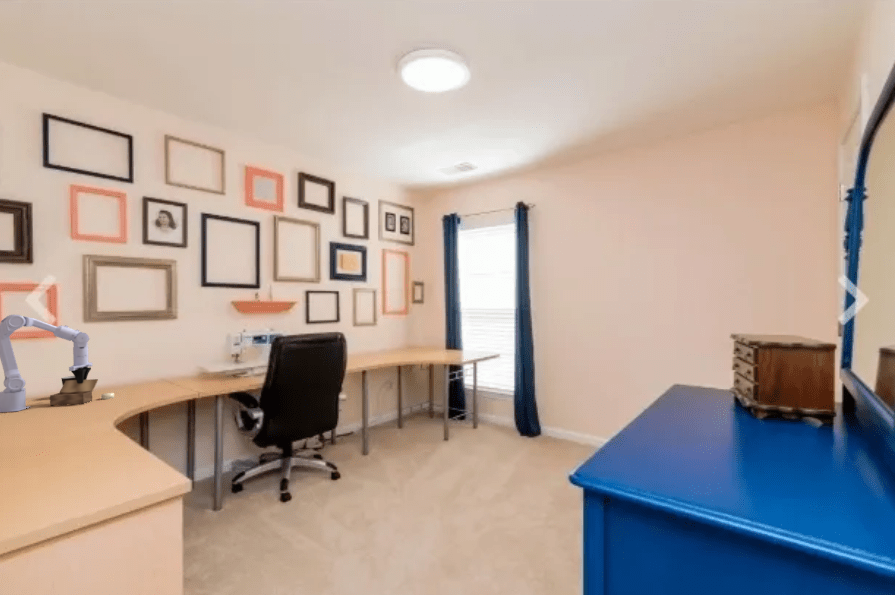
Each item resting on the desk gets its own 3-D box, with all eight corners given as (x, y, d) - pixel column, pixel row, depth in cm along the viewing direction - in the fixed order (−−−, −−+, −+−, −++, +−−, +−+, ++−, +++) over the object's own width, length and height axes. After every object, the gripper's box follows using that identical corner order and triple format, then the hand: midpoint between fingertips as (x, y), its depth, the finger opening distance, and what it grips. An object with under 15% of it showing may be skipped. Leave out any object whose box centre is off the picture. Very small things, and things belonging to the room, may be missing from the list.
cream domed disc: (98, 400, 214) (98, 395, 215) (105, 397, 220) (105, 393, 220) (110, 399, 215) (110, 394, 215) (116, 397, 221) (116, 392, 221)
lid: (65, 380, 213) (66, 381, 214) (59, 392, 209) (60, 392, 209) (97, 379, 216) (98, 379, 216) (92, 390, 211) (92, 391, 212)
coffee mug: (65, 394, 228) (65, 376, 228) (85, 393, 231) (85, 374, 231) (56, 399, 217) (56, 379, 217) (77, 397, 221) (77, 378, 221)
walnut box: (50, 406, 202) (50, 395, 202) (59, 402, 209) (59, 392, 209) (83, 404, 205) (83, 393, 205) (92, 401, 211) (91, 391, 211)
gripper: (80, 357, 208) (81, 385, 208) (98, 353, 222) (99, 379, 222) (63, 358, 206) (64, 386, 206) (83, 354, 221) (84, 380, 221)
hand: (81, 382), depth 214 cm, fingers closed, pressing on lid
